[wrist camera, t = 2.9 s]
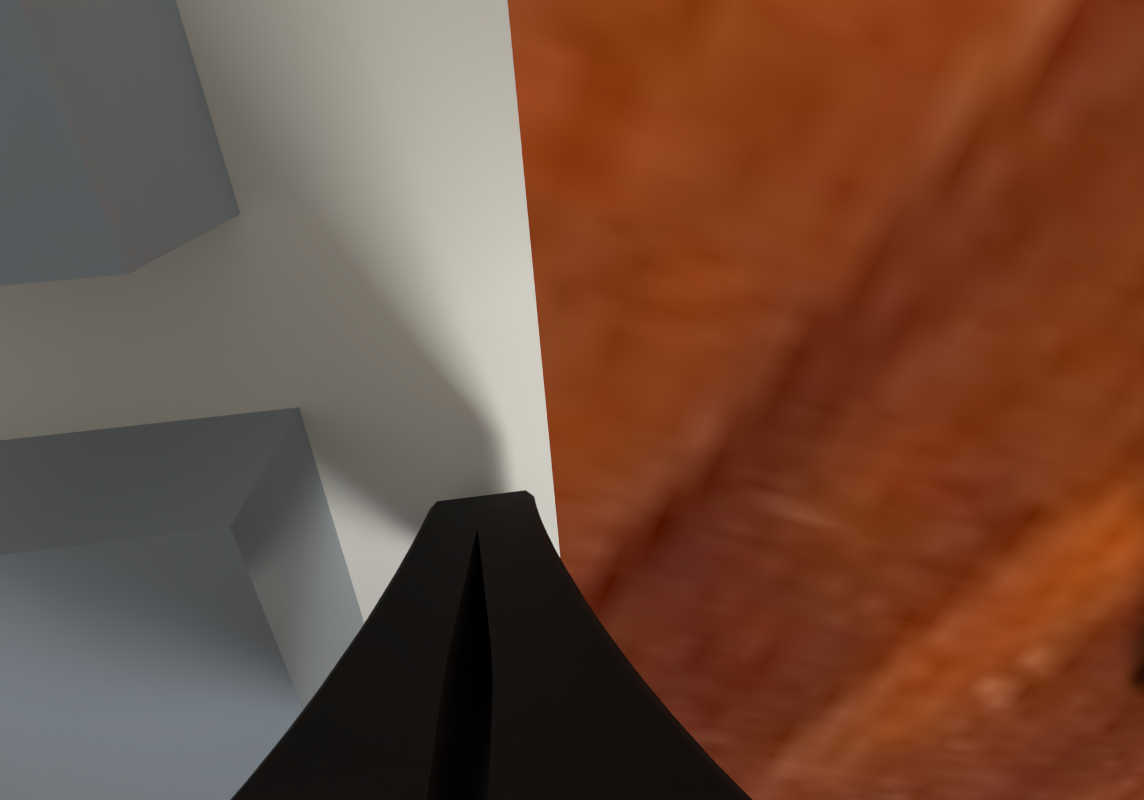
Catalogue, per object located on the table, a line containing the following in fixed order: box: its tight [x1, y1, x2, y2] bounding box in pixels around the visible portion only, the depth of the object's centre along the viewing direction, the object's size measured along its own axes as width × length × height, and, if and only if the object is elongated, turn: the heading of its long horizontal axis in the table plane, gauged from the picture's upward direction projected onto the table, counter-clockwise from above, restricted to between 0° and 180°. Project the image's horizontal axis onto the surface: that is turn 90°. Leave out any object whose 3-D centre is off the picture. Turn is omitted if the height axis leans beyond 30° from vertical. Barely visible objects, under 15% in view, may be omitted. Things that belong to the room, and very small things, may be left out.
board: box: [0, 0, 560, 623], centre depth 9 cm, size 16×12×2 cm
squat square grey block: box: [0, 407, 364, 800], centre depth 8 cm, size 4×4×2 cm
